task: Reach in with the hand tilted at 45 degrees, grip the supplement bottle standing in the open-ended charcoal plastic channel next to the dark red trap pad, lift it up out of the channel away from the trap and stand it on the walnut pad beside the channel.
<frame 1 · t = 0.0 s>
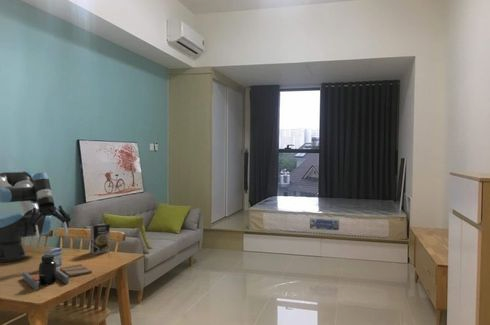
hand: (52, 236, 197), 15 cm above the table, tool tilted 35°, fingers open, 13 cm apart
trap pad: (41, 277, 180), on the table
medicine box: (52, 267, 197), on the table
channel: (45, 280, 176), on the table
coffee box: (100, 252, 225), on the table
walnut pad: (75, 271, 190), on the table
supplement bottle: (47, 283, 174), on the table
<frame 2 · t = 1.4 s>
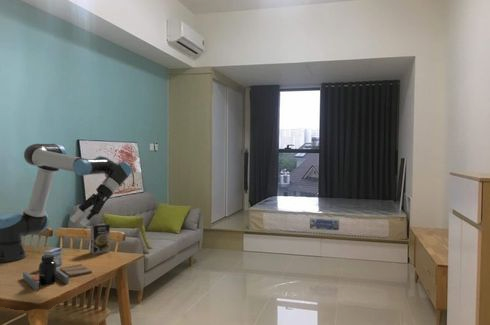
hand: (76, 223, 182), 25 cm above the table, tool tilted 45°, fingers open, 13 cm apart
nothing on the table moved.
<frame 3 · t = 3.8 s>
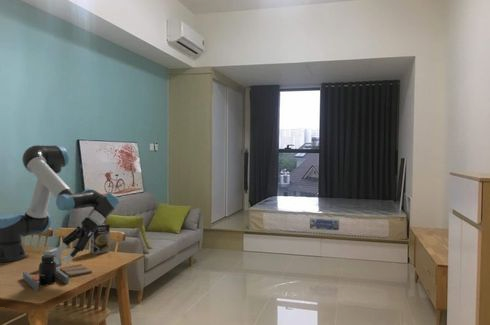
hand: (59, 258, 176), 10 cm above the table, tool tilted 45°, fingers open, 13 cm apart
nothing on the table moved.
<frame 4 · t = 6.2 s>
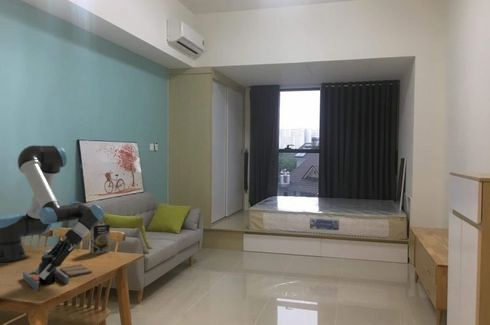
hand: (38, 275, 171), 4 cm above the table, tool tilted 45°, fingers closed on supplement bottle, 7 cm apart
supplement bottle: (47, 283, 174), on the table, touching gripper
everything else where it was.
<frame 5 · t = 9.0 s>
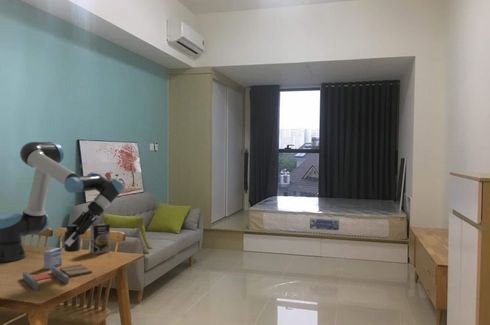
hand: (64, 243, 183), 15 cm above the table, tool tilted 45°, fingers closed on supplement bottle, 7 cm apart
supplement bottle: (72, 250, 186), point 11 cm above the table, touching gripper
everything else where it was.
when the fingers open (6 cm above the table, at t = 11.9 s): supplement bottle stays where it is, resting on walnut pad.
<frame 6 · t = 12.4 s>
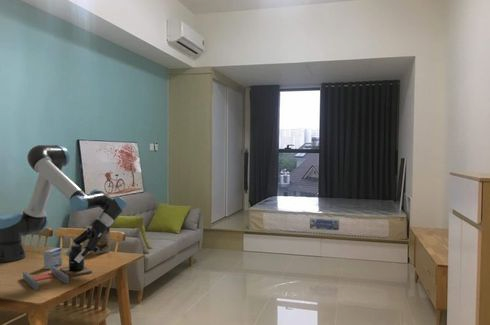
hand: (71, 258, 187), 7 cm above the table, tool tilted 45°, fingers open, 13 cm apart
supplement bottle: (76, 270, 189), point 1 cm above the table, touching walnut pad
everything else where it was.
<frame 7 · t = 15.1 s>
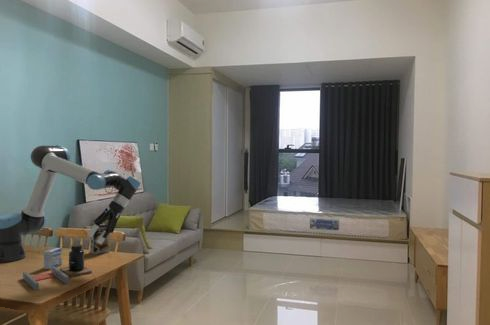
hand: (93, 239, 196), 14 cm above the table, tool tilted 35°, fingers open, 13 cm apart
nothing on the table moved.
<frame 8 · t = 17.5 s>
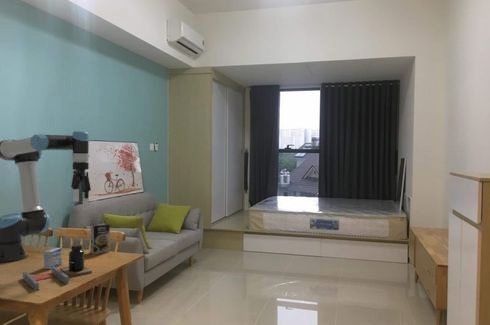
hand: (80, 203, 200), 32 cm above the table, tool pointing down, fingers open, 13 cm apart
nothing on the table moved.
at the end: supplement bottle inside the target area (0.3 cm from its centre), point 0.8 cm above the table; supplement bottle tilted 0°; the gripper is holding nothing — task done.
